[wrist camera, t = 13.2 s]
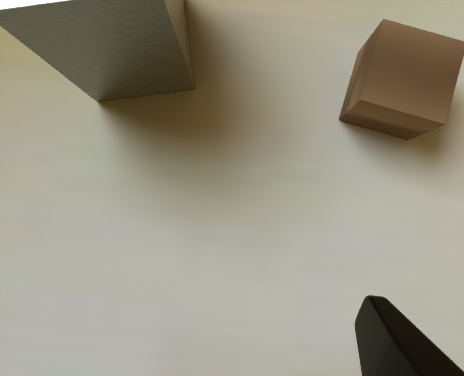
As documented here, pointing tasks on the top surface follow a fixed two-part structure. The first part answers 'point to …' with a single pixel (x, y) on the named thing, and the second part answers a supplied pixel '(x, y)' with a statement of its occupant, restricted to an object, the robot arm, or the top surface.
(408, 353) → the robot arm
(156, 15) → the grey tin
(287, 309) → the top surface
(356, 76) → the walnut block
